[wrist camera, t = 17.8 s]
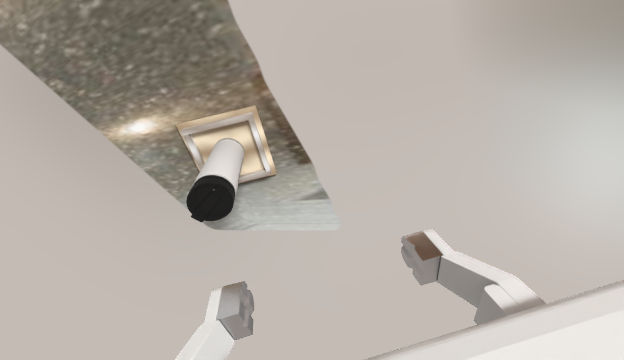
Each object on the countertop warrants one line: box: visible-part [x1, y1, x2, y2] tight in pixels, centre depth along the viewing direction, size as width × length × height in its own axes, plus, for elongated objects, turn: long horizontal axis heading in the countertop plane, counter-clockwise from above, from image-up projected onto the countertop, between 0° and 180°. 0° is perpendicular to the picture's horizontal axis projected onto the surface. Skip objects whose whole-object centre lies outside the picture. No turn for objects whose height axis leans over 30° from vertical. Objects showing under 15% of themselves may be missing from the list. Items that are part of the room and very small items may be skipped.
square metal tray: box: [176, 105, 277, 184], centre depth 48 cm, size 16×16×2 cm
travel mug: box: [187, 138, 244, 222], centre depth 40 cm, size 6×7×20 cm
